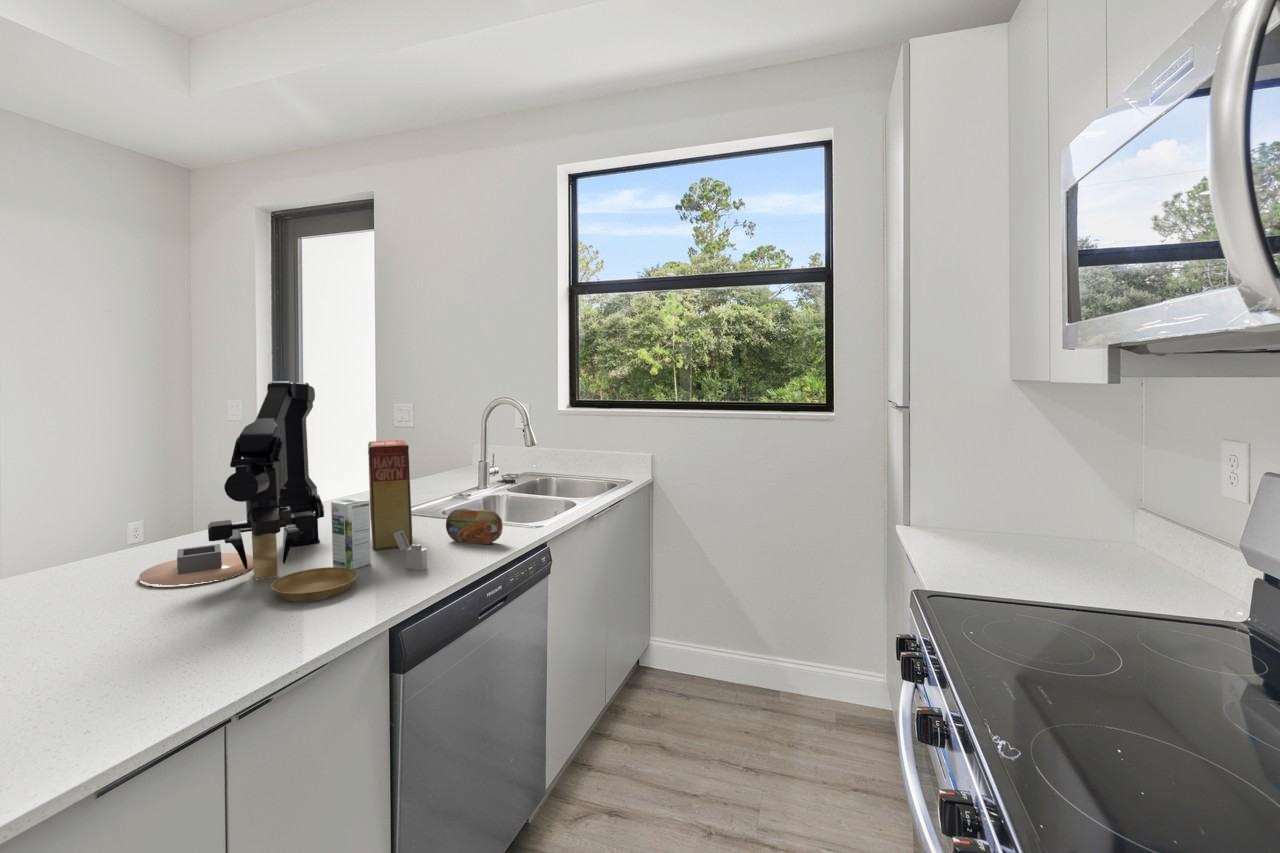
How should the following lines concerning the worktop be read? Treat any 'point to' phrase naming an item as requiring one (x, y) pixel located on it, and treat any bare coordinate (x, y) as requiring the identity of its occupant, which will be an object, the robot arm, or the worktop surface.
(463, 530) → the tin
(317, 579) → the plant saucer
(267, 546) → the oak peg
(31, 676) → the worktop surface
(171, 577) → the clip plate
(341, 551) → the syrup box
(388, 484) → the food packaging
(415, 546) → the lighter
